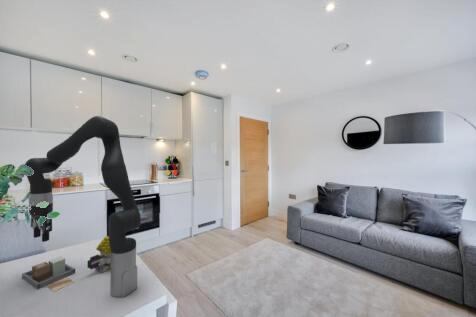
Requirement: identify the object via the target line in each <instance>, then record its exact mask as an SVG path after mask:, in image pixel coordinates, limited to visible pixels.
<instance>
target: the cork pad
mask: <svg viewBox="0 0 476 317" xmlns="http://www.w3.org/2000/svg"><path fill="white" fill-rule="evenodd" d="M73 283H75V281H74V280H72V279H70V278H69V277H68V276H67V277H65V278H63V279H61V280H58V281H56V282H54V283H52V284H49V285H47V286H45V287H46V288H48V289H49V290H50V291H52V292H53V293H55V292H57V291H59V290H61V289H63V288H65V287H67V286H70V285H72V284H73Z"/></svg>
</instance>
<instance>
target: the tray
mask: <svg viewBox="0 0 476 317" xmlns="http://www.w3.org/2000/svg"><path fill="white" fill-rule="evenodd" d="M74 274H76V268H74V267H73V266H71V265H69V264H68V263H67V264H66V263H65V272H62V273H60V274H57V275H55V276H52V275H50V278H48V279H45V280H43V281H41V282H37V281H35V280H34V279H32V269H31V270H28V271H26V272H23V273H21V279H23V281H25V282H26V283H28V284H29V285H31V286H32V287H33V288H34V289H36V290H41V289H42V288H44V287H46V286H48V285H50V284H52V283H54V282H57V281H59V280H61V279H63V278H66V277H67V278H68V277H69V276H72V275H74Z"/></svg>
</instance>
